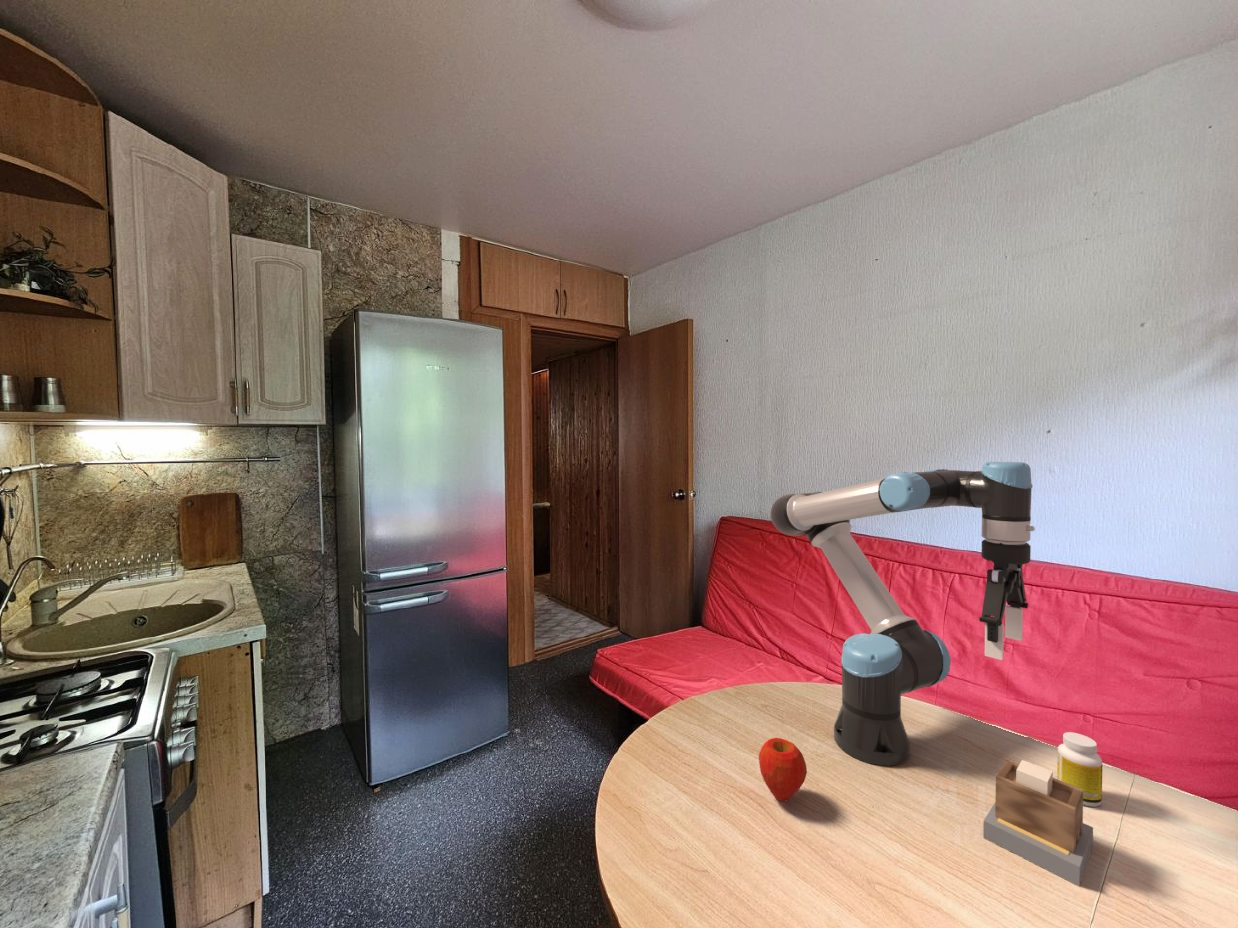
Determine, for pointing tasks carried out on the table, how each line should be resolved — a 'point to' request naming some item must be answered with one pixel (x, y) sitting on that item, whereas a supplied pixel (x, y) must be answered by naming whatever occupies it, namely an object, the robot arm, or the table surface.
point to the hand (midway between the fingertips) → (1004, 647)
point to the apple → (782, 768)
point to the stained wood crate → (1040, 808)
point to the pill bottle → (1081, 766)
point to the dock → (1040, 847)
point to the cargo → (1034, 777)
